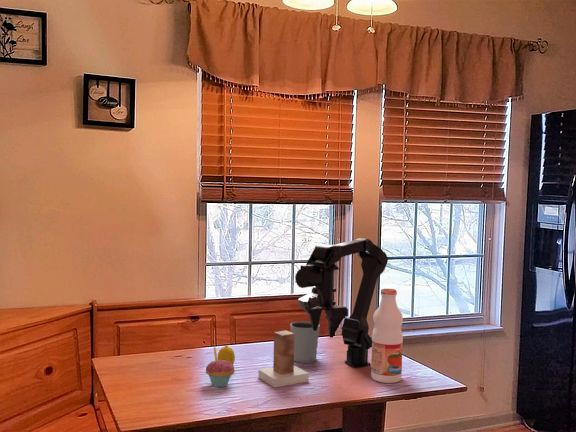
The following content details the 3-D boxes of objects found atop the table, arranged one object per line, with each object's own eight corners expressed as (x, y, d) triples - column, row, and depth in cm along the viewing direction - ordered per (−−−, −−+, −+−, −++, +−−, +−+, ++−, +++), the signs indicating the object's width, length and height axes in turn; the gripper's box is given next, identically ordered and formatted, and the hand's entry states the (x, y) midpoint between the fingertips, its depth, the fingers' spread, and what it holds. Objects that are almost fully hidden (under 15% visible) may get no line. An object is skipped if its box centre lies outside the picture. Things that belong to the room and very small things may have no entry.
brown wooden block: (285, 368, 183) (286, 330, 182) (293, 372, 179) (294, 333, 179) (273, 370, 180) (274, 332, 180) (281, 374, 177) (282, 335, 176)
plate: (291, 371, 187) (291, 364, 187) (308, 381, 179) (308, 373, 179) (258, 377, 181) (258, 369, 181) (274, 387, 173) (274, 379, 172)
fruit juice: (377, 371, 189) (379, 286, 187) (405, 377, 184) (408, 289, 183) (366, 380, 181) (368, 290, 179) (395, 385, 176) (398, 293, 175)
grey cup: (283, 358, 201) (284, 324, 200) (302, 352, 209) (303, 319, 208) (306, 365, 194) (307, 329, 194) (324, 358, 202) (325, 324, 201)
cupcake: (211, 390, 169) (211, 349, 168) (201, 381, 176) (201, 342, 176) (238, 386, 173) (239, 346, 172) (228, 377, 180) (228, 339, 180)
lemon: (231, 373, 184) (232, 348, 184) (215, 372, 186) (215, 347, 185) (236, 368, 190) (237, 343, 189) (220, 366, 191) (220, 342, 190)
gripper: (287, 281, 187) (285, 329, 188) (319, 291, 171) (317, 344, 172) (316, 279, 193) (315, 326, 194) (350, 289, 177) (348, 340, 178)
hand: (322, 334), depth 184 cm, fingers open, 9 cm apart
